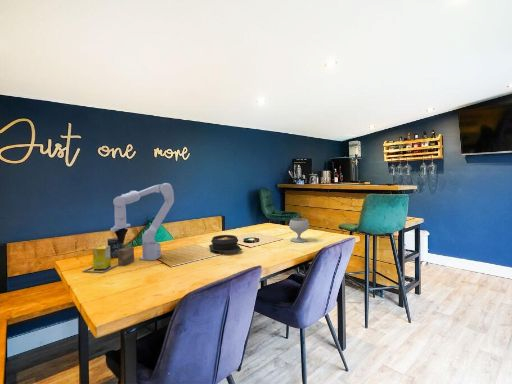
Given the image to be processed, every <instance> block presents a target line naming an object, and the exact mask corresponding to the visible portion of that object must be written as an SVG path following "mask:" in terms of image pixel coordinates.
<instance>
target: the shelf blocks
mask: <svg viewBox="0 0 512 384" xmlns="http://www.w3.org/2000/svg"><path fill="white" fill-rule="evenodd" d="M110 259H111V260H112V258H111V246H110ZM133 262H135V247H134V246H124V248H122V249H120V250H118V257H117V265H118V266H117V267H119V266H121V267H126V266H127V265H129V264H132V263H133Z"/></svg>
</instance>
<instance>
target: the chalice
mask: <svg viewBox="0 0 512 384" xmlns="http://www.w3.org/2000/svg"><path fill="white" fill-rule="evenodd" d="M288 227H289V229H290V230H291V231H293V232H295V234H297V237H292V238H290V242H295V243H304V242H308V241H309V240H308V239H307V238H302V237H301V234H303V233H304V232H306V231H308V230H309V228H310V223H309V220H308V219H307V218H291V219H290V220H289V223H288Z"/></svg>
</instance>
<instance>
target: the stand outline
mask: <svg viewBox="0 0 512 384" xmlns="http://www.w3.org/2000/svg"><path fill="white" fill-rule="evenodd" d="M117 267H119V266H118V264H116V265H114V266H112V267H109V268H108V269H106V270H102V271H99V270H94V266H93V265H92V267H89V268H87V269H84V270H83V271H81V272H82V273H87V274H88V273H90V274H105V273H107V272H109V271H111V270H113V269H115V268H117ZM92 269H93V271H92Z"/></svg>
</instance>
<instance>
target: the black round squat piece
mask: <svg viewBox="0 0 512 384" xmlns="http://www.w3.org/2000/svg"><path fill="white" fill-rule="evenodd" d="M210 242H211V244H209V245H208V247H209V250H211V251H213V252H216V253H223V254H224V253H225V254H226V253H227V254H229V253H236V252H240V251H242V248H241V247H240V246H239V245H238V243H239V238H238V236H236V235H233V234H232V235H231V234H220V235H214V236H213V237H212V239H211V240H210Z"/></svg>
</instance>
